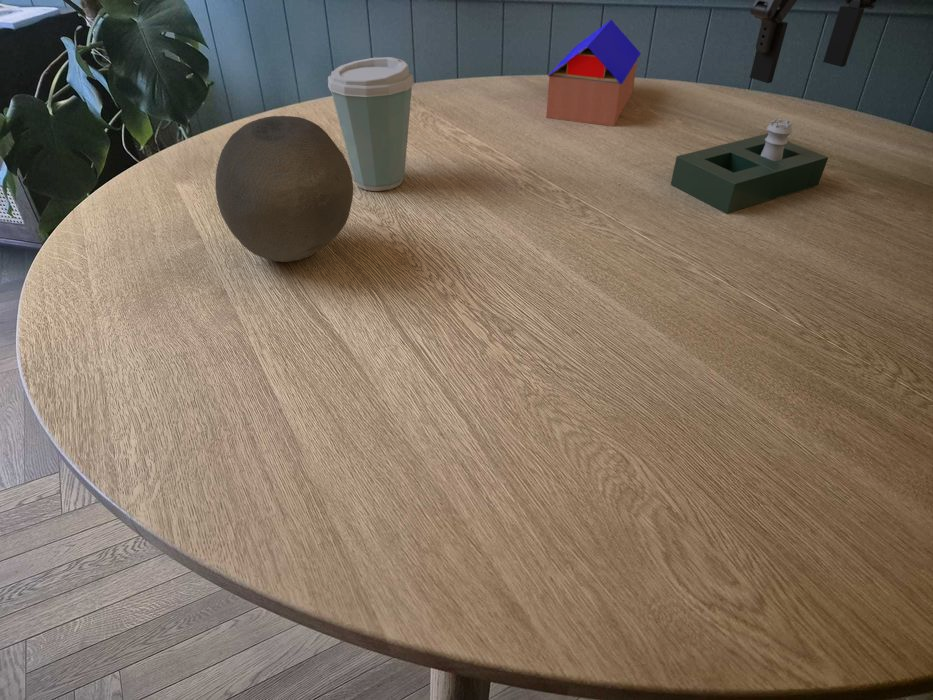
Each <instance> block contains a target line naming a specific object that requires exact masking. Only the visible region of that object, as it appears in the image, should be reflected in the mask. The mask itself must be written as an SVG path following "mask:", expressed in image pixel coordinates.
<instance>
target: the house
mask: <svg viewBox="0 0 933 700" xmlns="http://www.w3.org/2000/svg"><path fill="white" fill-rule="evenodd" d="M640 57H641V51H640V50H638V48H637V47H636V46H635V45H634V44H633V42H632V41H631V40H630V39H629V38H628V37H627V35H626V34H625V33H624V32H623V31H622V30H621V29H620V28H619V26H618V25H617V24H616V23H615V22H614V21H613V20H612V19H610V20H609V21H608V22H606V23H605V24H603V25H602V26H600V28H598V29H597V30H596V31H594V32H592V33H591V34H590V35H589V36H588V37H586V38H585V39H583V40H582V41H581V42H580V43H578V44H577V45H576V46H574V47H573V48H572V49H571V51H569V53H568V54H567V55H565V57H564V58H563V59H562V60H561V61H560V62H559V63H558V64H557V65H556V66H555V68H554V69H552V70H551V72H550V73H549V74H548V75H547V77H548V78H549V79H548V89H547V100H546V101H547V102H546V113H545V119H552V120H553V119H555V120H562V121H568V122H576V123H586V124H593V125H601V126H609V127H615V125H616V124H617V121H618V119H619V117H620V115H621V114H622V112H623V110H624V109H625V107H626V105H627V103H628V102H629V99H630V98H631V96H632V94H633V93H634V92H633V91H634V85H635V79H636V74H637V73H636V72H637V67H638V60H639V58H640Z"/></svg>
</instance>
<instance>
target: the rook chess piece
mask: <svg viewBox="0 0 933 700" xmlns="http://www.w3.org/2000/svg"><path fill="white" fill-rule="evenodd" d="M783 120H784V119H783V118H778V119H776V118H773V119H772V120H771V121H770V124H769V125H767V126H766V131H767V133H768V136H767V138H765V141H766V143H765V146H764V149H763V151H762V153H761V155H760V156H763V157H765V158H767V159H770V160H772V161H778V160H782V156H783V150H784V147H785V144H786V143H788V142H789V141H788V136H789V135H791V134H792V133H793V131H794V130H793V128H792V126H793V122H792V121H790V120H788V119H785V121H784V122H783ZM787 141H788V142H787Z"/></svg>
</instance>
